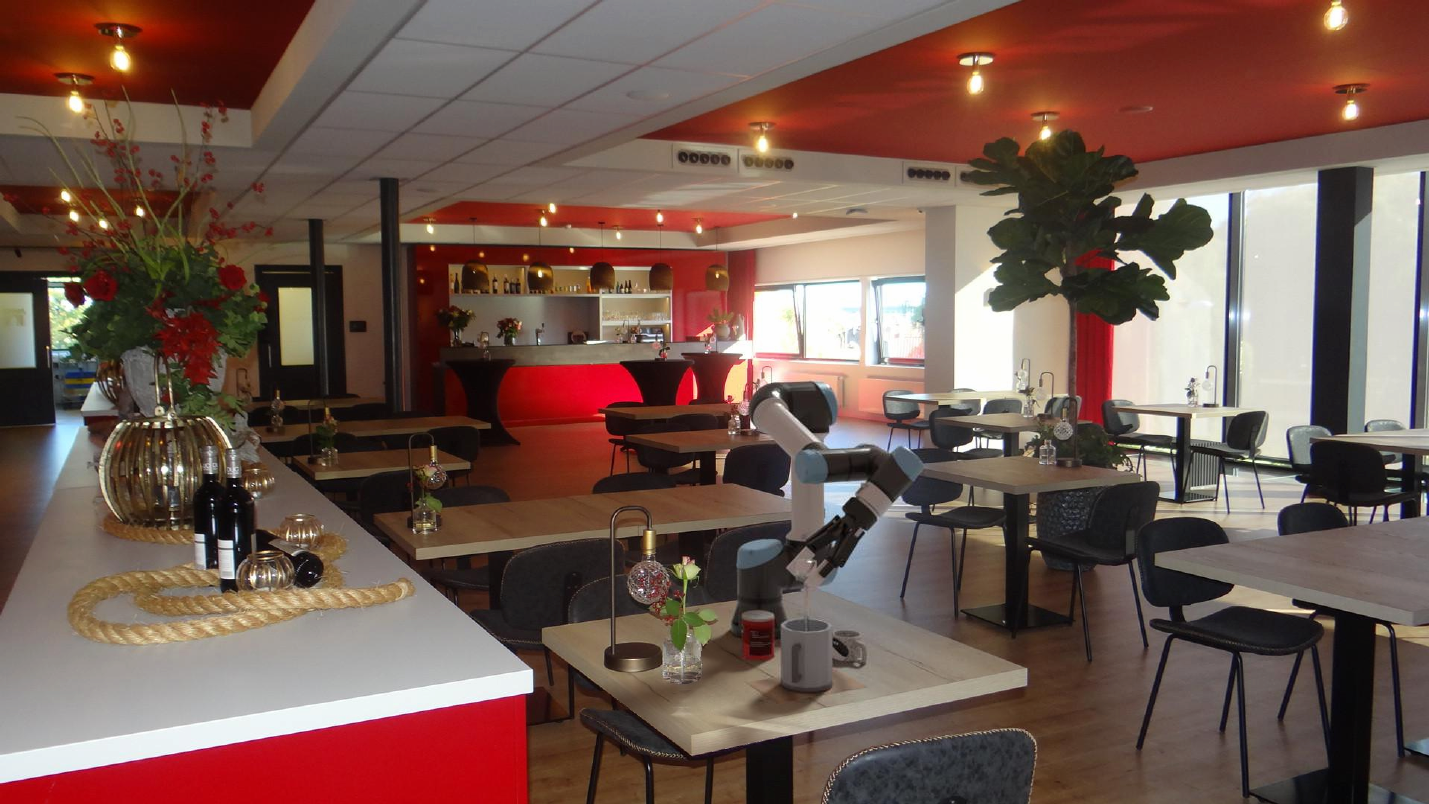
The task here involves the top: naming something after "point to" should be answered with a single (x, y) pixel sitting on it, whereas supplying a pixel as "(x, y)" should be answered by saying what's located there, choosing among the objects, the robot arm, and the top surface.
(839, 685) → the serving board
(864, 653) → the mug
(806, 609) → the plunger
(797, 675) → the grey cup
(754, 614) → the canned food
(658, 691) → the top surface
